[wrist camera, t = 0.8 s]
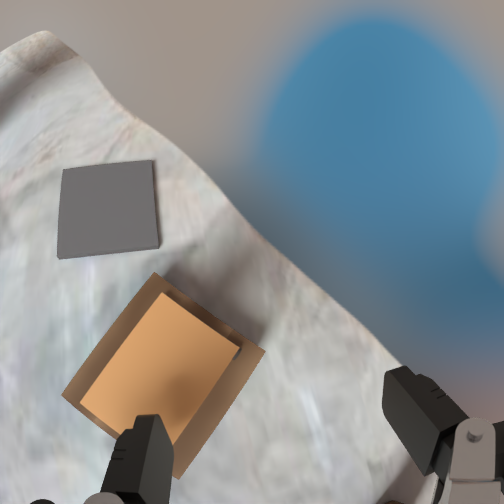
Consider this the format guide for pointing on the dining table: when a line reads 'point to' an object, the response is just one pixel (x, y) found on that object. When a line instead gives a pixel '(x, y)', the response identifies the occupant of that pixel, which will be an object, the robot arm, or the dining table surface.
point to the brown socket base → (216, 399)
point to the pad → (107, 210)
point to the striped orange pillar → (160, 370)
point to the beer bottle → (393, 502)
